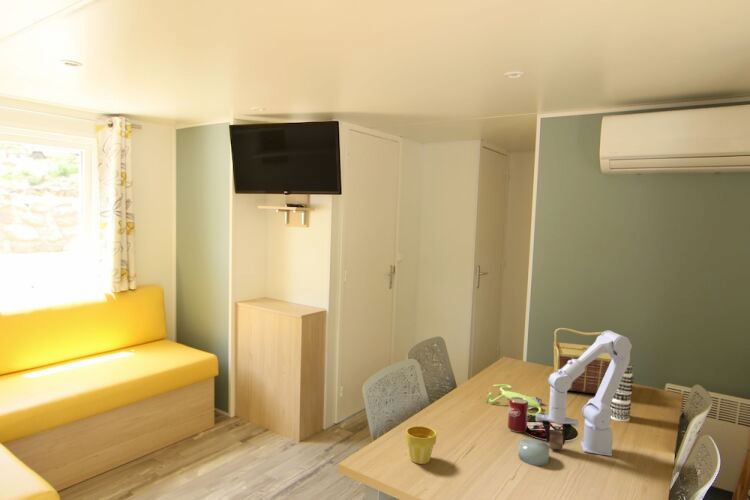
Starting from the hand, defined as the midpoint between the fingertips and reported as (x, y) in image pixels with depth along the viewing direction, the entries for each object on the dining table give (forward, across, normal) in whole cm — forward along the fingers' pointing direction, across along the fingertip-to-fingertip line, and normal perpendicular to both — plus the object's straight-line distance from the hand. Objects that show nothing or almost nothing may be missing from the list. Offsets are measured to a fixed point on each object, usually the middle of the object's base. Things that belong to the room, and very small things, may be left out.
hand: (555, 442), depth 175 cm
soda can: (+3, +13, -13) cm, 19 cm away
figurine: (+3, +14, -41) cm, 44 cm away
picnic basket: (+3, -20, -75) cm, 78 cm away
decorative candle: (+3, -30, -41) cm, 51 cm away
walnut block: (+1, 0, 0) cm, 1 cm away
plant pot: (+3, +46, +24) cm, 52 cm away
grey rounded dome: (+3, +8, +10) cm, 13 cm away
